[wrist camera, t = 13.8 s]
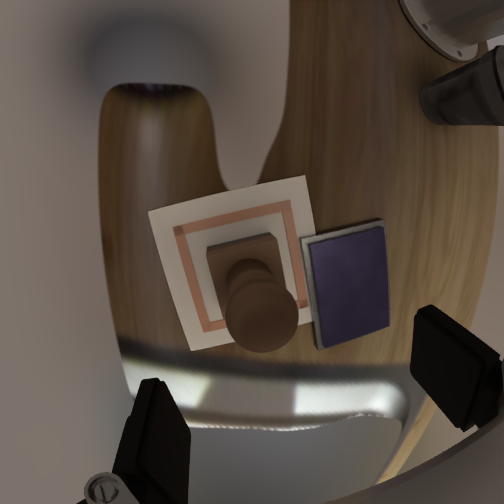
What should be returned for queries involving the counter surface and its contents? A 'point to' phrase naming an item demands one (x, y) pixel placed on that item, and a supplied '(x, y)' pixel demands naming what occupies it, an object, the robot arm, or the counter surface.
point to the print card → (224, 230)
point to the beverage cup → (468, 93)
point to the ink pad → (347, 281)
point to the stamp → (253, 292)
